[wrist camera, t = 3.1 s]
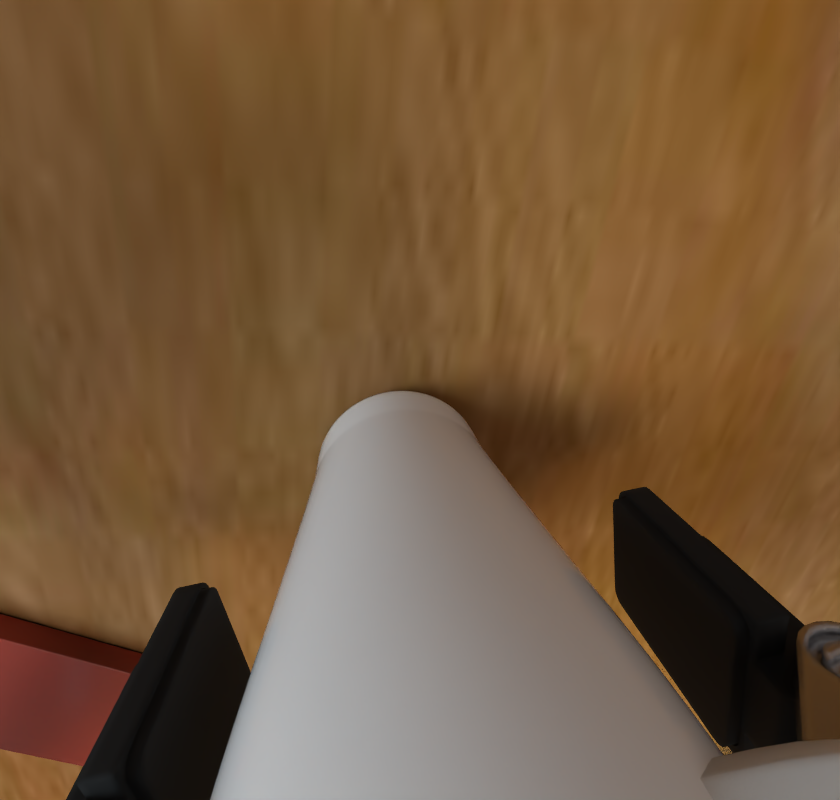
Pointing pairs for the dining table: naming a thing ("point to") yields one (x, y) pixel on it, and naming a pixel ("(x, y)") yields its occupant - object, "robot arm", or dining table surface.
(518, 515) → the drinking glass
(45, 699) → the spatula
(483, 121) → the dining table surface
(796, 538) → the dining table surface
